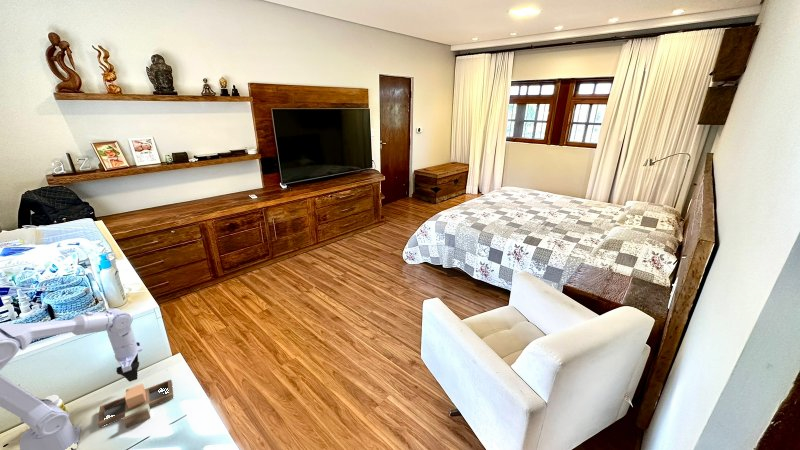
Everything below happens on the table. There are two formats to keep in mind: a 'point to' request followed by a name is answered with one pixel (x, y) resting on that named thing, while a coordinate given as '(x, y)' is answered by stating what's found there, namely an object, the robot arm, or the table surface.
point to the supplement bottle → (57, 402)
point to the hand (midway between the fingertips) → (133, 371)
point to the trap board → (138, 411)
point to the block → (135, 396)
